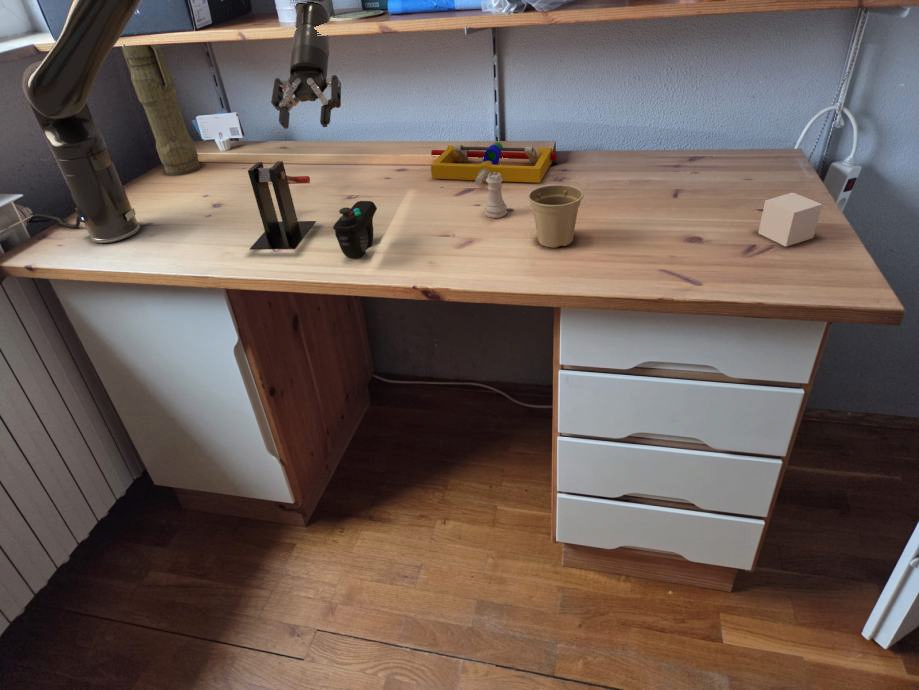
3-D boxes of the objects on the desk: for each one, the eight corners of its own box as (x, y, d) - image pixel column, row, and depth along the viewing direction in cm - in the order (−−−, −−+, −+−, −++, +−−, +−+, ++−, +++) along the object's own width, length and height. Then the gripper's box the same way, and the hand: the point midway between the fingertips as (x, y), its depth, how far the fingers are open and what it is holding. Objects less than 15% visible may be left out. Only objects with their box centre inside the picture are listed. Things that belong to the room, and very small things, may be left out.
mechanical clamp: (433, 132, 149) (558, 134, 140) (435, 158, 153) (557, 161, 144) (404, 158, 135) (540, 163, 126) (407, 186, 139) (540, 192, 130)
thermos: (190, 176, 157) (137, 21, 136) (153, 174, 160) (96, 23, 140) (212, 163, 163) (165, 14, 143) (176, 162, 167) (125, 16, 147)
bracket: (275, 227, 127) (255, 155, 118) (317, 226, 125) (300, 153, 116) (251, 255, 117) (227, 178, 108) (296, 254, 115) (276, 177, 107)
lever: (284, 186, 126) (283, 174, 126) (310, 186, 126) (309, 173, 125) (250, 182, 113) (249, 168, 112) (279, 181, 112) (278, 167, 111)
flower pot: (530, 228, 116) (529, 184, 111) (582, 228, 114) (583, 183, 109) (526, 252, 109) (525, 205, 104) (581, 252, 107) (583, 205, 102)
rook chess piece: (488, 208, 125) (485, 170, 121) (509, 210, 124) (508, 170, 119) (482, 218, 122) (479, 178, 117) (504, 219, 121) (502, 179, 116)
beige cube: (784, 225, 109) (792, 192, 106) (813, 238, 105) (822, 204, 101) (758, 233, 108) (765, 200, 104) (785, 246, 103) (794, 212, 99)
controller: (338, 269, 109) (326, 216, 104) (363, 237, 119) (353, 187, 113) (361, 270, 108) (351, 216, 103) (384, 238, 118) (376, 187, 112)
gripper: (270, 45, 129) (263, 118, 126) (336, 41, 127) (330, 115, 124) (285, 66, 136) (279, 136, 134) (348, 63, 134) (343, 133, 132)
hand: (304, 126), depth 129 cm, fingers open, 8 cm apart
